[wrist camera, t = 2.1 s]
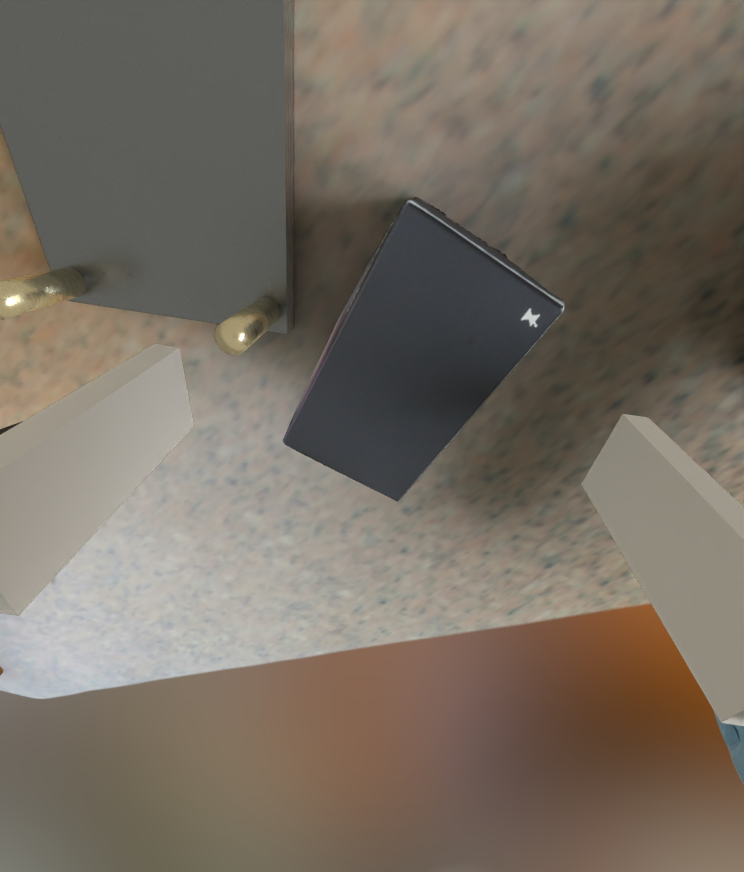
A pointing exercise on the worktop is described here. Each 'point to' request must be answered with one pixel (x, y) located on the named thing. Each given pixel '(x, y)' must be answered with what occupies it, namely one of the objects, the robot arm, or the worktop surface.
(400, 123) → the worktop surface
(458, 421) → the small box
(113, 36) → the chassis
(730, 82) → the worktop surface
